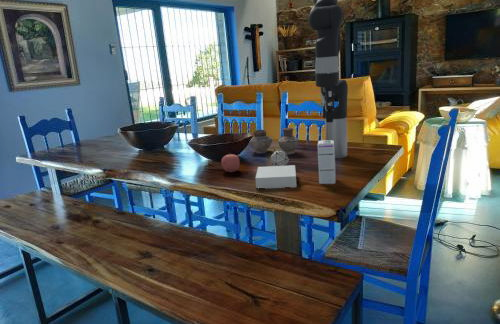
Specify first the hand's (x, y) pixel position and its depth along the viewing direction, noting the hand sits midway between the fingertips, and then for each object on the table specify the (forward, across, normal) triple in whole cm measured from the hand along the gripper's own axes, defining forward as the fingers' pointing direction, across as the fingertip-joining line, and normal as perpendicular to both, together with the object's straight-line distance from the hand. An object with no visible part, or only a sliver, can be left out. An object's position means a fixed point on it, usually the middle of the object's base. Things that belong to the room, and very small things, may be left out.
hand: (327, 120), depth 125 cm
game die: (+22, -19, -18) cm, 34 cm away
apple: (+22, -18, -38) cm, 47 cm away
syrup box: (+22, 0, -1) cm, 22 cm away
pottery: (+23, -48, -20) cm, 57 cm away
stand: (+22, -2, -19) cm, 29 cm away
